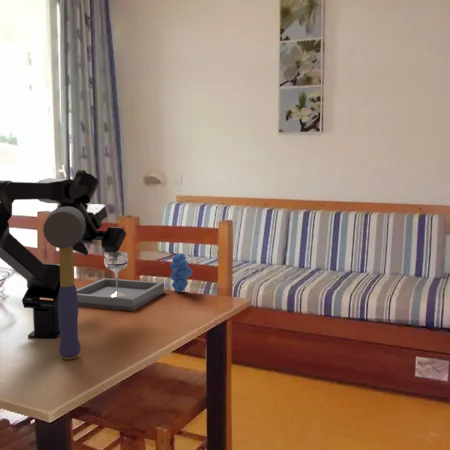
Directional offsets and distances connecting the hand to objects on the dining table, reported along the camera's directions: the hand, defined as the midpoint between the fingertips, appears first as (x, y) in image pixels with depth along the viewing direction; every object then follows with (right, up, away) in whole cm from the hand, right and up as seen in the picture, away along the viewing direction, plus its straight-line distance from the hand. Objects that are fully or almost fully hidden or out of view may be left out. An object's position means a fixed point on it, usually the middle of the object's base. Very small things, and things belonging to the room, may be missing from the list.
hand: (101, 255), depth 136 cm
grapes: (+20, -12, +17) cm, 29 cm away
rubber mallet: (+2, -18, -35) cm, 40 cm away
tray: (+2, -13, +9) cm, 16 cm away
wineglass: (+2, -12, +9) cm, 15 cm away
